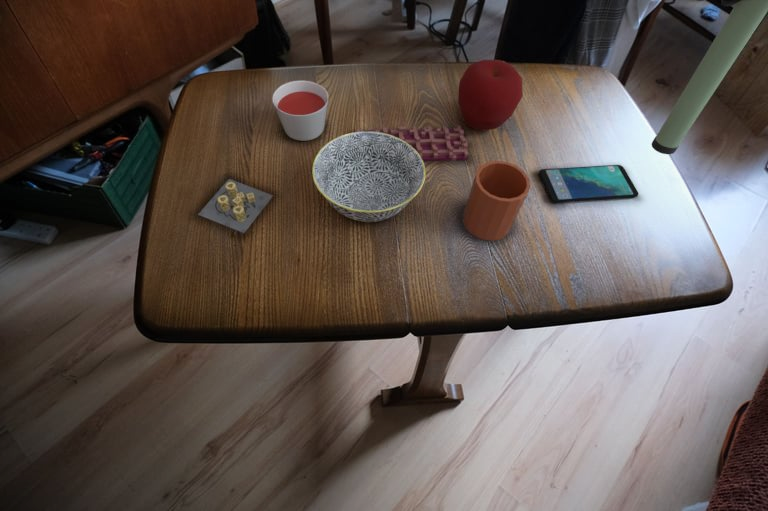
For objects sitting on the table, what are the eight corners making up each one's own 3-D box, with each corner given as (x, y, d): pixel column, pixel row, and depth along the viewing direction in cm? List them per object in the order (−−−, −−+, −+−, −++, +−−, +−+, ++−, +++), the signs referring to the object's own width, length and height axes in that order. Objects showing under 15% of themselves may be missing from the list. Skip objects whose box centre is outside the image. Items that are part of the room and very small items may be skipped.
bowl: (349, 153, 74) (349, 116, 68) (435, 189, 71) (443, 154, 65) (295, 217, 66) (289, 182, 60) (389, 261, 63) (393, 229, 56)
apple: (480, 152, 76) (497, 94, 66) (438, 119, 80) (449, 59, 71) (522, 128, 80) (545, 69, 70) (480, 97, 85) (496, 38, 75)
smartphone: (538, 168, 73) (622, 163, 75) (536, 172, 74) (620, 167, 76) (552, 201, 69) (640, 195, 71) (550, 204, 70) (638, 198, 72)
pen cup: (520, 224, 68) (541, 183, 60) (488, 249, 65) (505, 209, 57) (485, 195, 71) (500, 153, 63) (452, 218, 68) (464, 176, 60)
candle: (271, 119, 78) (264, 88, 73) (318, 106, 81) (316, 75, 75) (288, 152, 74) (283, 121, 68) (338, 137, 76) (337, 106, 71)
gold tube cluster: (242, 223, 65) (239, 214, 64) (213, 211, 66) (209, 203, 64) (261, 199, 68) (259, 191, 66) (232, 188, 69) (229, 179, 67)
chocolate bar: (470, 160, 75) (473, 151, 73) (358, 163, 73) (359, 154, 71) (462, 131, 79) (464, 122, 77) (356, 134, 77) (356, 125, 75)
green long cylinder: (658, 155, 55) (779, -36, 39) (647, 141, 57) (757, -48, 41) (679, 153, 56) (808, -37, 39) (667, 139, 58) (785, -48, 41)
